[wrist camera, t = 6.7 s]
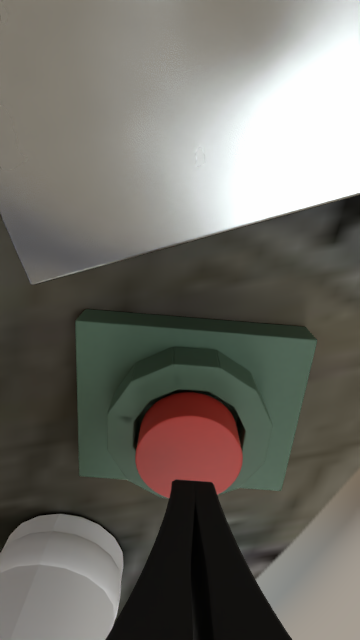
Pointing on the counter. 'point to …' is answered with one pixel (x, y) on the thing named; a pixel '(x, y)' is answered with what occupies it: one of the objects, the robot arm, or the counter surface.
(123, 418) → the green base
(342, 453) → the counter surface
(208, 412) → the timer button
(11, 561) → the bottle
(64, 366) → the counter surface
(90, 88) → the canister lid
